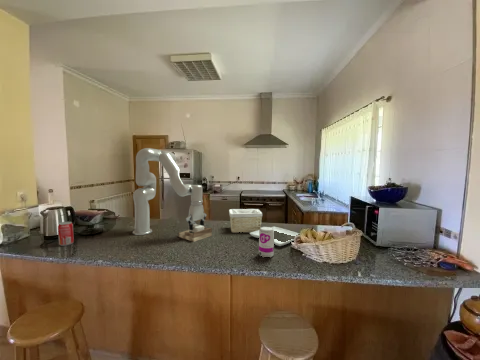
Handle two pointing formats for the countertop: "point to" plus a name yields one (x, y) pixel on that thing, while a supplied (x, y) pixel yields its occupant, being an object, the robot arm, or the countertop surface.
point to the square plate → (280, 230)
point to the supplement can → (266, 242)
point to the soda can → (65, 233)
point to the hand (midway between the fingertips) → (196, 228)
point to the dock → (196, 234)
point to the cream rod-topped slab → (196, 228)
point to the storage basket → (245, 220)
